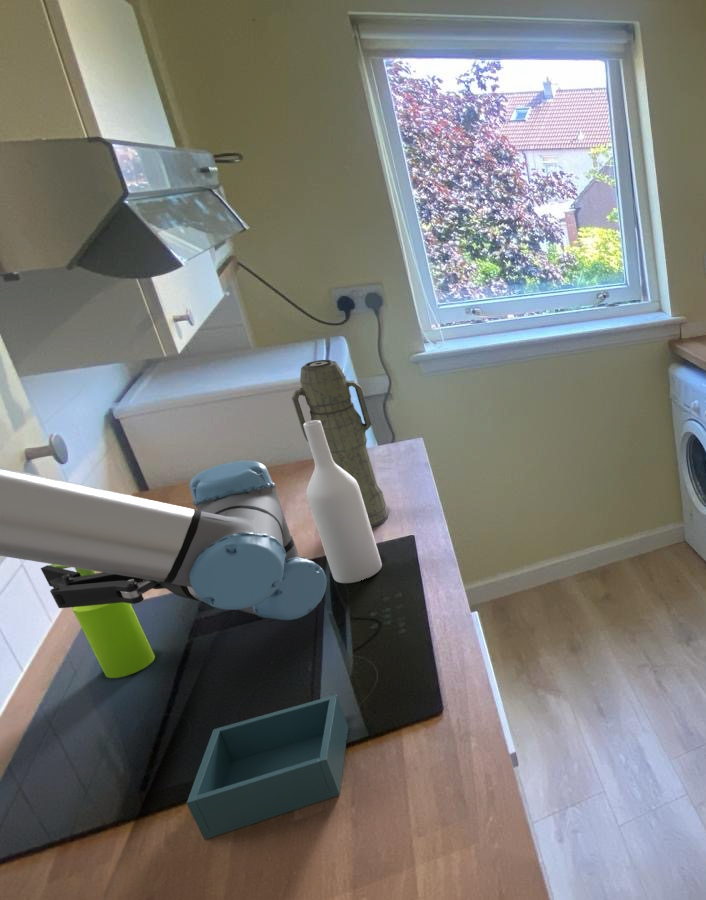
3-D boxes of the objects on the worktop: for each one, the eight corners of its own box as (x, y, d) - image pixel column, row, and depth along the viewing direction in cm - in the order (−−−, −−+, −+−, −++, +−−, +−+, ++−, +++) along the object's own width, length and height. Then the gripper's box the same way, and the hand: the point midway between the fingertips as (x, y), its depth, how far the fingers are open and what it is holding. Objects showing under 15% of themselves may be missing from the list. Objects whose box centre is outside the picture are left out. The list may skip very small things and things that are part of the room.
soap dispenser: (106, 668, 113) (51, 557, 106) (162, 654, 116) (112, 544, 108) (93, 691, 108) (34, 576, 101) (151, 676, 111) (99, 562, 104)
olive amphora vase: (402, 517, 157) (358, 360, 144) (341, 538, 150) (289, 373, 136) (389, 505, 163) (345, 352, 150) (329, 524, 156) (278, 365, 142)
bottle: (383, 575, 136) (339, 424, 124) (333, 588, 132) (283, 434, 121) (380, 556, 142) (338, 411, 131) (333, 569, 139) (284, 420, 127)
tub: (204, 840, 84) (186, 803, 82) (228, 763, 94) (213, 729, 92) (339, 795, 89) (326, 759, 87) (348, 727, 100) (336, 694, 97)
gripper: (116, 657, 84) (6, 625, 91) (313, 549, 106) (212, 530, 112) (89, 602, 81) (-23, 573, 88) (297, 503, 103) (194, 486, 109)
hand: (108, 549), depth 100 cm, fingers open, 13 cm apart
